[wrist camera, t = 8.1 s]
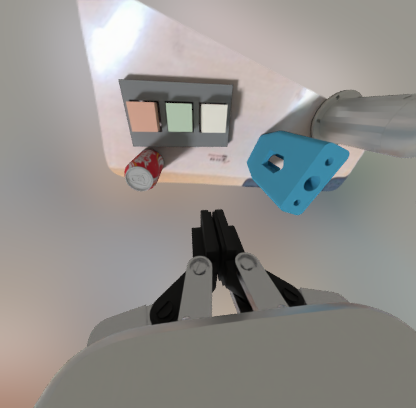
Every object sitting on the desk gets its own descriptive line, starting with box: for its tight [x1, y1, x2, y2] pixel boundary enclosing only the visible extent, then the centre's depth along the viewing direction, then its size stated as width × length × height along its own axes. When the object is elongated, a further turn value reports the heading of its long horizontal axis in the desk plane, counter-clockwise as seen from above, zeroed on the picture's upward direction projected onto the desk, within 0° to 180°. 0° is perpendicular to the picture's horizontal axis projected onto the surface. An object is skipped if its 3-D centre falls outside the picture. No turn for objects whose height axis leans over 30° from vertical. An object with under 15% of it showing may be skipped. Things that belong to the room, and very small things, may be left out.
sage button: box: [166, 103, 192, 132], centre depth 32 cm, size 5×5×3 cm
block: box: [247, 131, 349, 215], centre depth 33 cm, size 12×5×20 cm, turn 158°
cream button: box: [201, 104, 228, 133], centre depth 32 cm, size 5×5×3 cm
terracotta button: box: [126, 101, 160, 132], centre depth 31 cm, size 5×5×3 cm
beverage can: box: [125, 149, 164, 191], centre depth 34 cm, size 6×6×12 cm
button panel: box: [118, 79, 233, 147], centre depth 34 cm, size 22×12×2 cm, turn 88°
